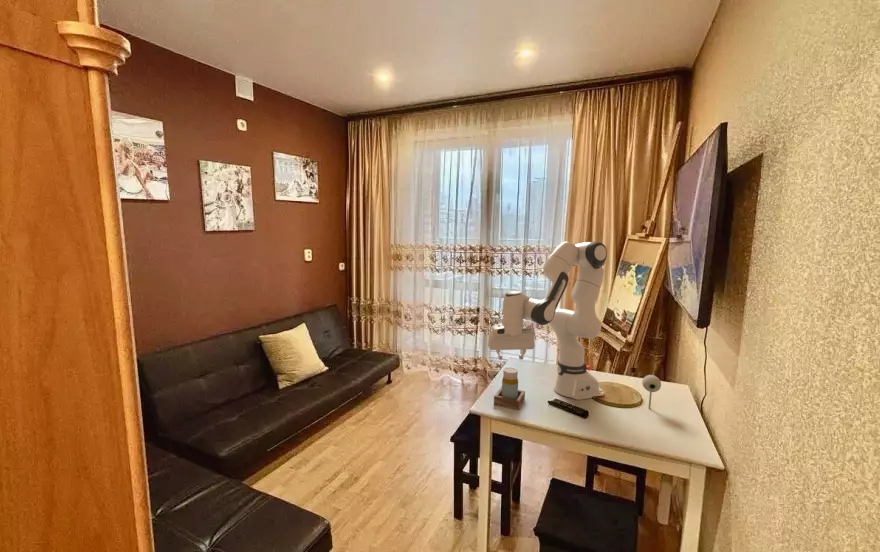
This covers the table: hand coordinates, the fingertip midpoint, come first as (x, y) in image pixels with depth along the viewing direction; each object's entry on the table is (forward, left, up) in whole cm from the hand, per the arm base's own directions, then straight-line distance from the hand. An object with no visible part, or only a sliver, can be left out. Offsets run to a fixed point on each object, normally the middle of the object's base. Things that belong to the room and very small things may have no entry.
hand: (510, 358), depth 167 cm
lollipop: (-59, +12, -21) cm, 64 cm away
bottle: (0, 0, -21) cm, 21 cm away
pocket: (0, 0, -20) cm, 20 cm away
